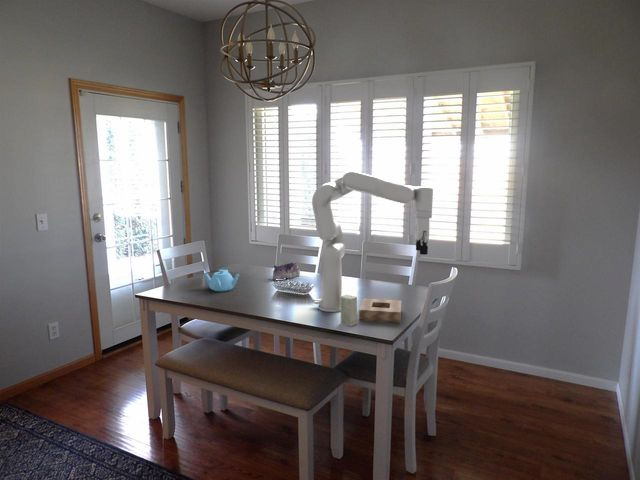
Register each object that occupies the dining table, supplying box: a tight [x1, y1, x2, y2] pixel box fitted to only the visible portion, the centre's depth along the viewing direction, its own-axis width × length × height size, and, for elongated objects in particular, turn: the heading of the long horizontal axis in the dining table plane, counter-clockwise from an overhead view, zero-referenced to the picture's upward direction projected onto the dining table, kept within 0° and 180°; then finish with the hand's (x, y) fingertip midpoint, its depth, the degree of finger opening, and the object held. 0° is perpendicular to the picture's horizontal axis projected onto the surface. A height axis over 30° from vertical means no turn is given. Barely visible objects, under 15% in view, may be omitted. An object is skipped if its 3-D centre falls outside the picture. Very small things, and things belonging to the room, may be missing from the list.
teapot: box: [203, 269, 240, 292], centre depth 254 cm, size 15×15×11 cm
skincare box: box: [340, 294, 358, 327], centre depth 198 cm, size 6×4×12 cm
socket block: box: [358, 298, 402, 324], centre depth 209 cm, size 18×18×5 cm
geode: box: [272, 262, 301, 281], centre depth 281 cm, size 20×12×10 cm, turn 146°
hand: (421, 252), depth 206 cm, fingers open, 9 cm apart
